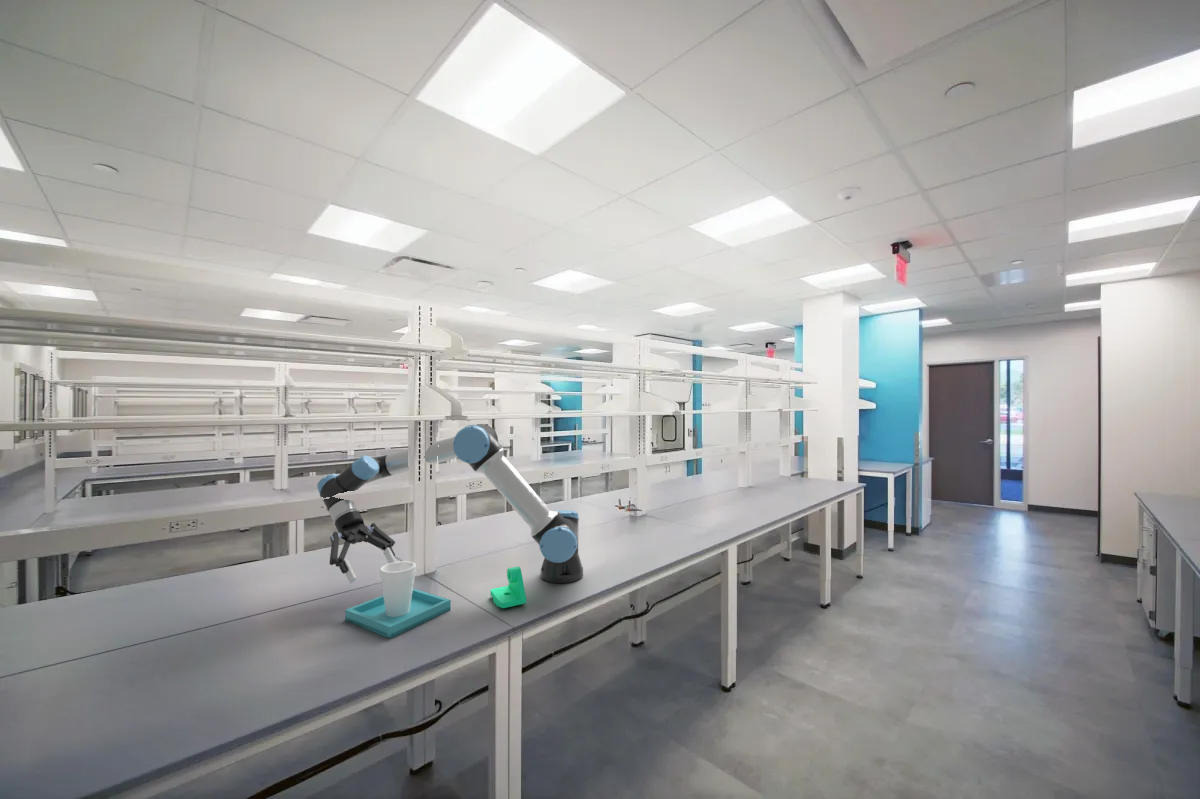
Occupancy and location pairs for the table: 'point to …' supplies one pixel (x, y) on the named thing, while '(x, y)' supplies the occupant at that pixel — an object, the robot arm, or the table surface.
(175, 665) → the table surface
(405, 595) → the foam cup
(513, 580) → the camera mount
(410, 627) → the teal tray
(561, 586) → the table surface
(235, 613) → the table surface
